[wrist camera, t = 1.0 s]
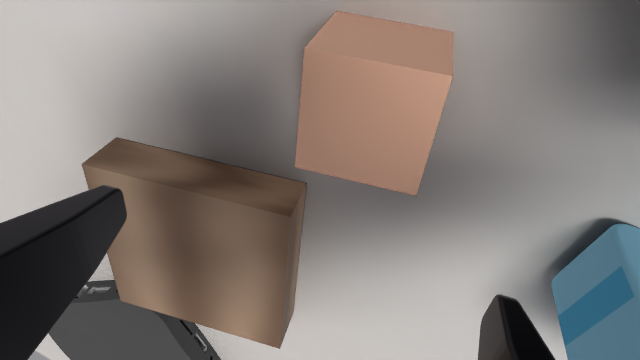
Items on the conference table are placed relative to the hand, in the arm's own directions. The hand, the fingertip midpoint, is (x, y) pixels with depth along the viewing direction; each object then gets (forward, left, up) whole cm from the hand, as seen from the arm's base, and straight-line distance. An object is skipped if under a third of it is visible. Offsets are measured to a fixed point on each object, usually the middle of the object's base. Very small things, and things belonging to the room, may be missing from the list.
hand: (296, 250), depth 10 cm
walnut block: (+9, +13, -12) cm, 20 cm away
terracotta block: (0, 0, -12) cm, 12 cm away
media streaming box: (+17, +29, -13) cm, 36 cm away
